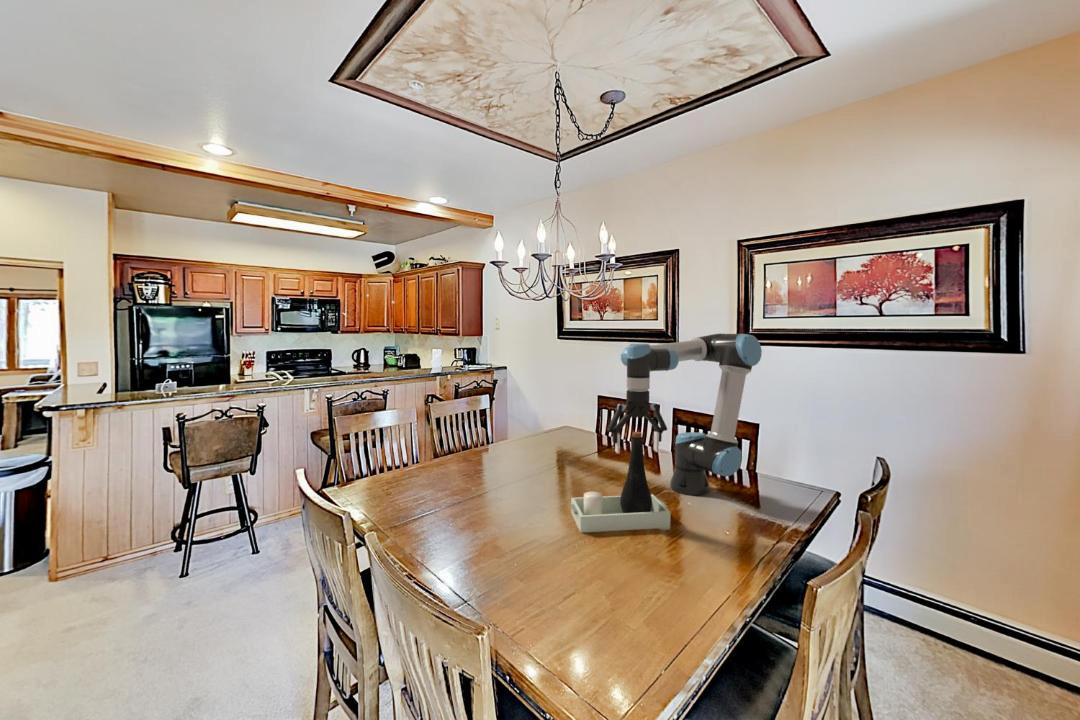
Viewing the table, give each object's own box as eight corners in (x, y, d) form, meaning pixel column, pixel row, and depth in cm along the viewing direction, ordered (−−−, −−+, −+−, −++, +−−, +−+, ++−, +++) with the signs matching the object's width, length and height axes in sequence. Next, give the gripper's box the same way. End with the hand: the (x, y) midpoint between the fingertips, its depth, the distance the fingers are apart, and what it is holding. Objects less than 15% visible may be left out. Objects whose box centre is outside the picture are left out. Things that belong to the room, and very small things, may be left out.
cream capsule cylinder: (599, 516, 158) (600, 491, 158) (604, 524, 152) (604, 498, 151) (581, 517, 158) (581, 492, 157) (585, 525, 151) (586, 499, 150)
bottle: (652, 526, 150) (654, 437, 148) (619, 523, 153) (621, 435, 150) (650, 513, 161) (652, 429, 158) (620, 510, 163) (621, 428, 160)
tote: (655, 510, 166) (655, 494, 165) (673, 529, 150) (673, 512, 149) (568, 514, 162) (568, 498, 161) (577, 535, 146) (577, 516, 146)
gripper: (669, 387, 158) (667, 447, 160) (598, 388, 155) (598, 449, 157) (678, 390, 151) (676, 453, 153) (604, 392, 148) (603, 456, 150)
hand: (636, 451), depth 155 cm, fingers open, 13 cm apart
